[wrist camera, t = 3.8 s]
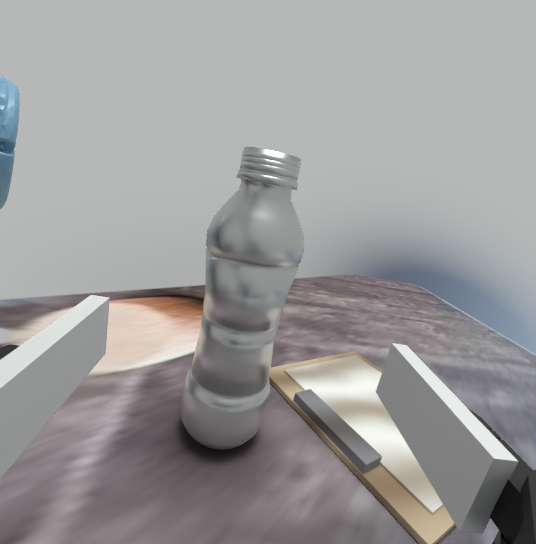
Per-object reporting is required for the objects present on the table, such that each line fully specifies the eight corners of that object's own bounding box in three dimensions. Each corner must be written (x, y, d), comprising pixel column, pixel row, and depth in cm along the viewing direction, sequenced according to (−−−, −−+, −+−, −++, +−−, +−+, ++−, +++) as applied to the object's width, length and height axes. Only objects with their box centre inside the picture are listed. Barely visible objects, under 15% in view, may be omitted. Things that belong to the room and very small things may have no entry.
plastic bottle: (158, 446, 22) (200, 133, 16) (198, 389, 28) (237, 151, 23) (249, 477, 21) (323, 156, 16) (269, 411, 27) (326, 169, 22)
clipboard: (261, 373, 32) (264, 362, 32) (353, 354, 40) (356, 345, 40) (427, 552, 18) (434, 535, 18) (516, 468, 26) (522, 456, 26)
